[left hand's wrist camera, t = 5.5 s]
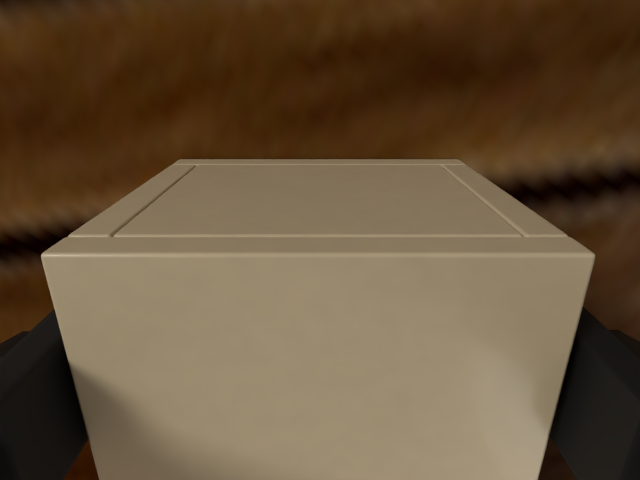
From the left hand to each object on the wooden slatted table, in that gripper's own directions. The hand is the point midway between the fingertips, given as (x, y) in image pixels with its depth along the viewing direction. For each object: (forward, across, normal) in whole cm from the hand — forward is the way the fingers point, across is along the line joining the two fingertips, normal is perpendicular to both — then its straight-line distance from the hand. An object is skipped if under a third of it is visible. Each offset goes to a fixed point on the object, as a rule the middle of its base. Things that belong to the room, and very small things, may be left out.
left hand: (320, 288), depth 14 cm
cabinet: (+3, 0, -7) cm, 8 cm away
